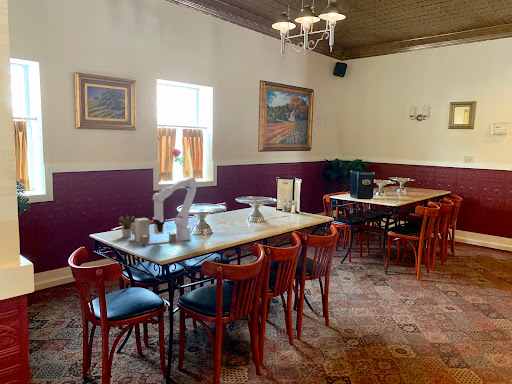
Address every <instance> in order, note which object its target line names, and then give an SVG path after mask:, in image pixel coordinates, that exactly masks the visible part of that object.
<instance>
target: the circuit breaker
mask: <svg viewBox="0 0 512 384" xmlns="http://www.w3.org/2000/svg"><path fill="white" fill-rule="evenodd" d="M150 221H151V220H150V219H149V218H146V217H140V218H133V223H132V225H131V228H132V231H131V235H134V241H136V242H137V243H141V236H142V235H147V236H148V242H151V240H150V239H151V234H150V226H151V222H150Z"/></svg>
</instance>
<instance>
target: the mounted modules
mask: <svg viewBox="0 0 512 384" xmlns="http://www.w3.org/2000/svg"><path fill="white" fill-rule="evenodd" d="M168 240H169V241H171V242H173V243H175V242H174V241H176V233H175V232H169V233H168ZM148 242H149V241H148V236H147V235H142V236H141V242H140V243H142V244H143V245H145V244H148ZM145 246H146V245H145Z"/></svg>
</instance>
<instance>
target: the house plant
mask: <svg viewBox="0 0 512 384" xmlns="http://www.w3.org/2000/svg"><path fill="white" fill-rule="evenodd" d="M134 217H135V215H134V216H132V217H128V216H126V217H124V216H123V215H121V216H120V219H119V221H120V222H119V223H118V225H119V226H120V225H121V231H122V232H121V233H122V237H123V238H124V237H128V238H131V236H132V223H134V221H132V220H134ZM129 218H130V219H129Z"/></svg>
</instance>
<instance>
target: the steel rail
mask: <svg viewBox="0 0 512 384" xmlns="http://www.w3.org/2000/svg"><path fill="white" fill-rule="evenodd" d="M172 243H178V241H177V240H176V241H174V242H171V241H169V239H168V240H161V241H158V240H157V241H148V244H145V245H143V244H142V243H141V242H139V245H140V246H142V247H143V246H144V247H145V246H151V245H152V246H153V245H155V246H156V245H162V244H172Z"/></svg>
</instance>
